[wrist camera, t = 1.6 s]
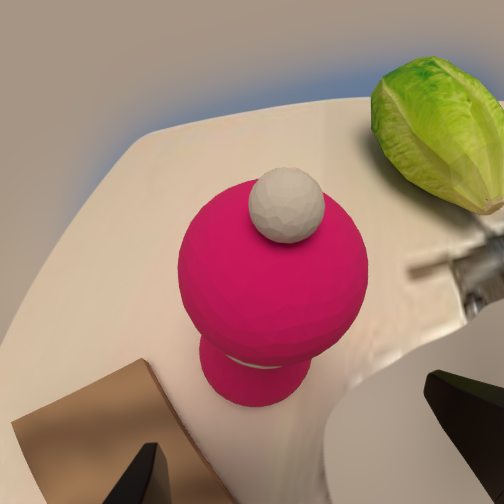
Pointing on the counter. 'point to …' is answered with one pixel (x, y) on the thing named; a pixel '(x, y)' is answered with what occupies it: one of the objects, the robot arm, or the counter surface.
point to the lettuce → (442, 132)
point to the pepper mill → (270, 283)
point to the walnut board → (112, 441)
